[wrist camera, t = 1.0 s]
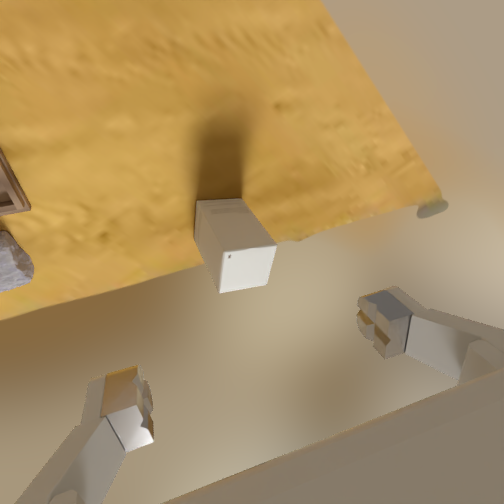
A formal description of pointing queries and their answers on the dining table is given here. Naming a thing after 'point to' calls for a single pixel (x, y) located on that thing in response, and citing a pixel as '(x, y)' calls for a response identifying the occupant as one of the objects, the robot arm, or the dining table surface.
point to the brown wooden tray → (10, 191)
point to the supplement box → (233, 244)
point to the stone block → (13, 264)
